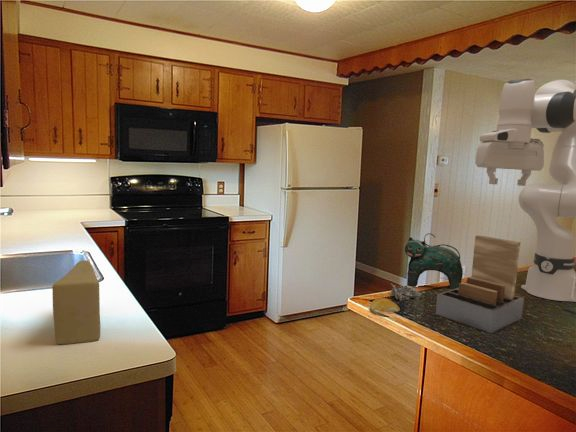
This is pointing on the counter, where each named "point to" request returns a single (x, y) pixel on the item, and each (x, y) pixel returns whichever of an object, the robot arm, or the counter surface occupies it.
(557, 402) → the counter surface
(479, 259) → the birch sheet
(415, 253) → the ceramic cat
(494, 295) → the oak offcut
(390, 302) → the bread roll
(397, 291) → the egg carton
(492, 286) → the walnut offcut
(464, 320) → the rack
